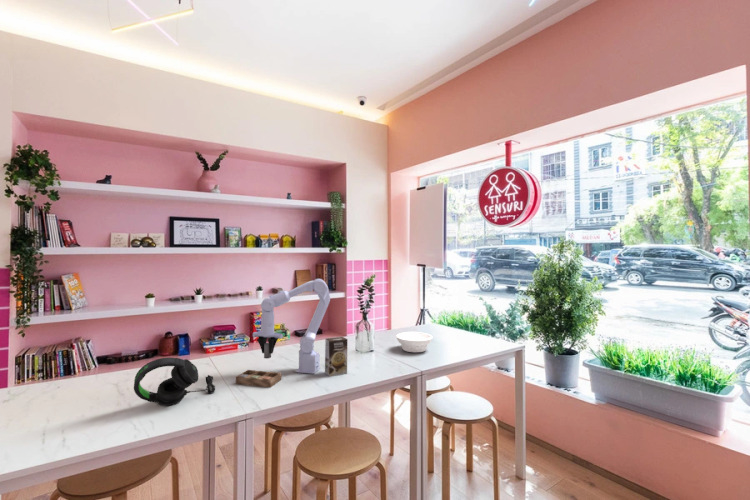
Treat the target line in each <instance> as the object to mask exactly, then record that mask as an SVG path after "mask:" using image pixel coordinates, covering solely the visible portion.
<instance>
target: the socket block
mask: <svg viewBox="0 0 750 500" xmlns="http://www.w3.org/2000/svg"><path fill="white" fill-rule="evenodd" d="M281 380H282V373H281V372H273V371H265V370H264V371H262V370H255V369H254V370H252V369H247V370H245V371H244V372H242V373H240V374H238V375H236V376H235V385H242V386H244V385H245V386H253V387H264V388H272V387H273V386H275V385H276V384H278V383H279V382H281Z"/></svg>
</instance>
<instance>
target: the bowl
mask: <svg viewBox="0 0 750 500" xmlns="http://www.w3.org/2000/svg"><path fill="white" fill-rule="evenodd" d="M395 337H396V340H397V342H398V343H399V344H400V345H401V348H402V350H403V351H405V352H409V353H422V352H423V353H424V352H425V351H426V350H427V348H428V346H429V344H430V343H431V342H432V340H433V337H434V336H433V335H431V334H429V333H426V332H419V331H405V332H400V333H397V334H396V336H395Z"/></svg>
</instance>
